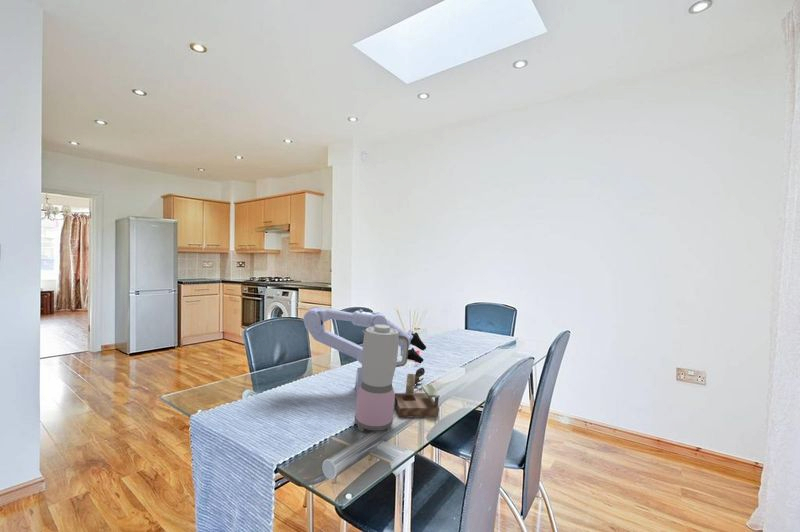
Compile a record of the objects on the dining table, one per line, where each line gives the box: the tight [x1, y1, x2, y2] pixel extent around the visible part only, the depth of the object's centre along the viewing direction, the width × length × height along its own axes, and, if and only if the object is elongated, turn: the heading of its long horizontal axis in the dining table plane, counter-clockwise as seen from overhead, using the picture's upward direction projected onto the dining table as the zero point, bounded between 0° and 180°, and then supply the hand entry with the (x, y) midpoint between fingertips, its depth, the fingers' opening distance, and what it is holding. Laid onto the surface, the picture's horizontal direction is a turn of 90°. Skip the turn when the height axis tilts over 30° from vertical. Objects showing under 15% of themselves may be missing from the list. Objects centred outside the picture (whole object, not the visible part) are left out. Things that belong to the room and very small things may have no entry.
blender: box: [354, 324, 410, 432], centre depth 113 cm, size 16×12×32 cm
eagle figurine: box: [414, 367, 426, 384], centre depth 151 cm, size 8×7×9 cm
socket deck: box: [394, 384, 440, 418], centre depth 127 cm, size 14×12×7 cm
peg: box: [405, 373, 416, 393], centre depth 138 cm, size 3×3×8 cm
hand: (423, 355), depth 141 cm, fingers open, 7 cm apart
